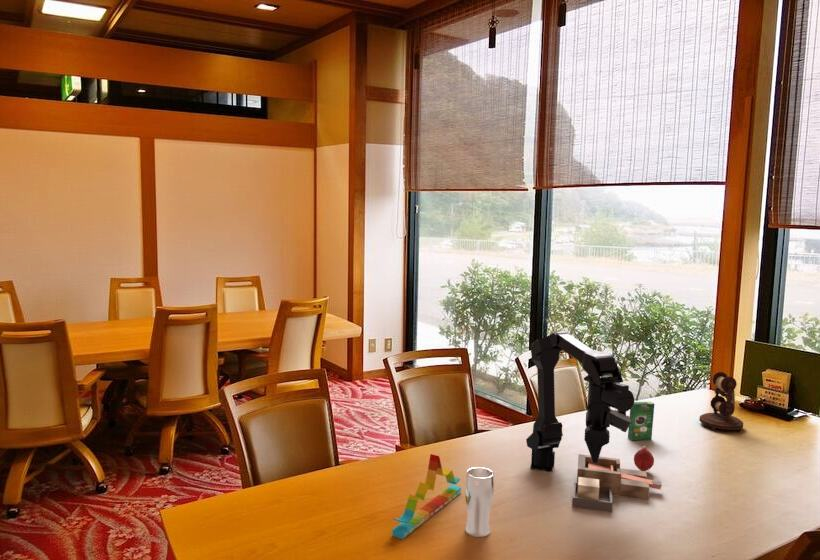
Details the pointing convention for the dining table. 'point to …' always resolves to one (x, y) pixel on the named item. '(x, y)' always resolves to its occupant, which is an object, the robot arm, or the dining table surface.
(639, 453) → the onion
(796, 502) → the dining table surface
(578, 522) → the dining table surface
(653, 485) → the lever
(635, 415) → the coffee box
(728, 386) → the brown roll holder stand
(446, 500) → the chart
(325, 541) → the dining table surface
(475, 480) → the beer glass
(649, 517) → the dining table surface
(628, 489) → the brown wooden lever base
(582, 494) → the block
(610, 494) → the tray
